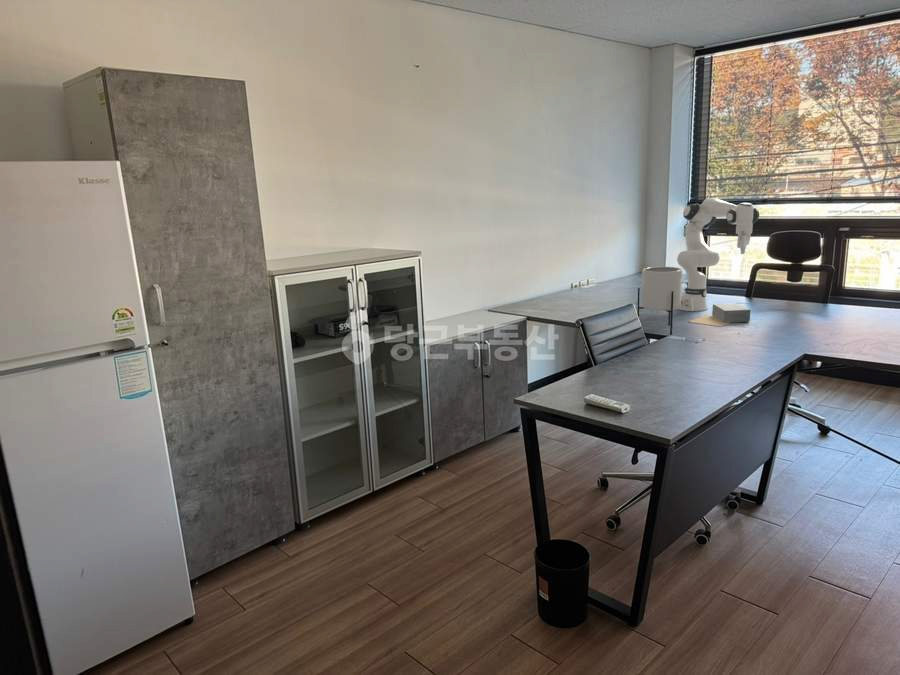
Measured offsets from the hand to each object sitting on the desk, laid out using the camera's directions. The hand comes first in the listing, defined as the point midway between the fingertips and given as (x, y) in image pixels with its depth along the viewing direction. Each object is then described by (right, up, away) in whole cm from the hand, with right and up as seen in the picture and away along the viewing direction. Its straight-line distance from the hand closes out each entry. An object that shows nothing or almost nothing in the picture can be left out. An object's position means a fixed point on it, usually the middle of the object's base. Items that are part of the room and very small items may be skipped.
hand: (742, 253), depth 367 cm
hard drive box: (-6, -38, -5) cm, 39 cm away
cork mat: (-16, -40, +4) cm, 44 cm away
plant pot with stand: (-54, -46, -8) cm, 71 cm away
